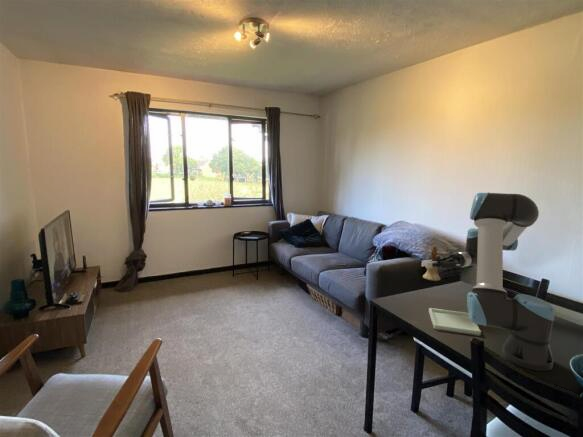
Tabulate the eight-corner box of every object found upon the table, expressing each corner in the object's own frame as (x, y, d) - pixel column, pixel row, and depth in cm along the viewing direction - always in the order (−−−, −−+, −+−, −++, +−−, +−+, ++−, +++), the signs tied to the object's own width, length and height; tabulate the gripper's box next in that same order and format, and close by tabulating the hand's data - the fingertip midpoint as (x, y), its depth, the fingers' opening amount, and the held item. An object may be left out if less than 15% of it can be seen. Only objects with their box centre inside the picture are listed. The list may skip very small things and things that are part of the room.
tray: (480, 335, 134) (480, 331, 134) (434, 329, 139) (434, 324, 138) (469, 316, 151) (470, 313, 151) (428, 311, 156) (429, 307, 156)
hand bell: (424, 274, 165) (427, 244, 162) (442, 277, 160) (445, 246, 157) (420, 278, 158) (423, 247, 155) (438, 282, 153) (442, 249, 151)
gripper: (471, 271, 158) (435, 276, 149) (446, 262, 172) (412, 267, 163) (473, 256, 157) (437, 261, 148) (447, 249, 171) (413, 253, 162)
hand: (424, 264), depth 156 cm, fingers closed on hand bell, 2 cm apart
